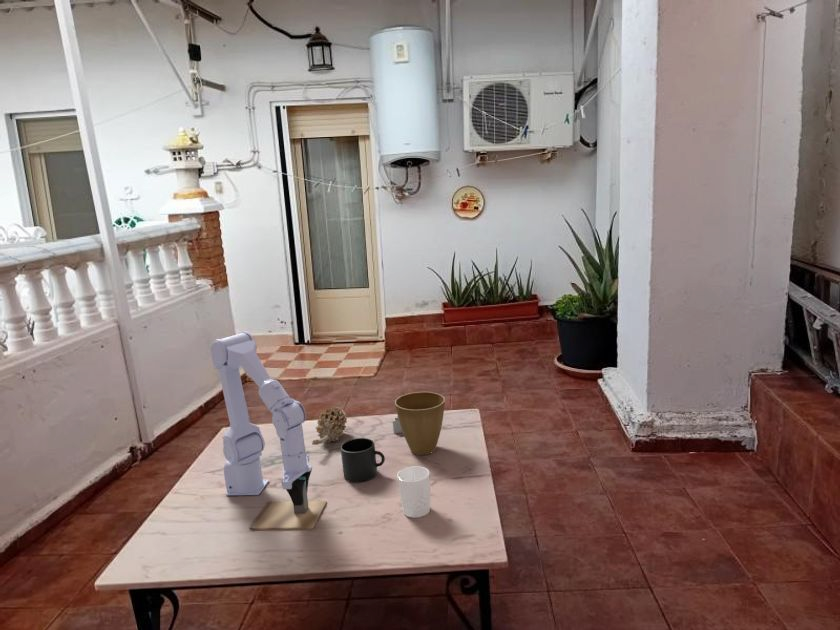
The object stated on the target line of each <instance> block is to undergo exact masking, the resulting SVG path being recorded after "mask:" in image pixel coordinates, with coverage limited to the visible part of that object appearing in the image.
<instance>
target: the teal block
mask: <svg viewBox="0 0 840 630" xmlns="http://www.w3.org/2000/svg"><path fill="white" fill-rule="evenodd" d="M299 480H306V477H299ZM308 500H309V499H308V490H307V489H306V481H305V483H304V488H303V504H302V505H294V504H293V506H294V513H297V514H305V513H306V511H307V509H308V508H309V507H308Z"/></svg>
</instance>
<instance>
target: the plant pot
mask: <svg viewBox="0 0 840 630" xmlns="http://www.w3.org/2000/svg"><path fill="white" fill-rule="evenodd" d="M445 402H446V398H445V396H443V395H442V394H439V393H437V392H431V391H416V392H410V393H406V394H404V395H400V396H398V397H397V398H396V399H395V400H394V406H395V409H396V410H395V411H396V415H397V416H398V419H399V422H400V425H401V428H402V431H403V433H402V434H403V436H404V439H405V441H406V444H407V446H408V448H409V450H410V452H411V453H413V454H414V455H417V454H418V456H425V455H424V454H427V455H430V454H432V453H434V452H435V451H434V450H436V448H437V445H438V442H439V439H440V435H441V430H442V425H443V421H444V413H445V405H446V403H445ZM433 451H434V452H433ZM431 452H432V453H431ZM429 453H430V454H429Z"/></svg>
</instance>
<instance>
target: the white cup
mask: <svg viewBox="0 0 840 630" xmlns="http://www.w3.org/2000/svg"><path fill="white" fill-rule="evenodd" d="M396 474H397V475H396V477H397V484H398V490H399V497H400V502H401V508H402V512H403V514H404V516H406V517H408V518H412V519H413V518H414V519H415V518H422V517H424V516H425V517H426V515H428V514H429V513H430V511H431V482H430V481H431V479H430V470H429V469H428V468H426V467H425V466H420V465H413V466H411V465H410V466H407V467H404V468H402V469H401V470H399V471H398V472H397V473H396Z"/></svg>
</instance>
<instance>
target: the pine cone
mask: <svg viewBox="0 0 840 630" xmlns="http://www.w3.org/2000/svg"><path fill="white" fill-rule="evenodd" d="M346 414H347V413H346V411H344V410H343V409H341V406H340V407H338V406H337V405H335V407H334V408H333V407H330V408H329V409H325V411H322V412H321V413H320V414H319V417H318V418H319V419H317V421H316V422H317V425H316V427H315V430H316V432H317V433H318V435H316V436H318V437H319V439H313V440H312V442H311V445H320V444H323V443H324V442H325V443H328V444H329V443H330V444H331V442H332V441H333V442H337V441H339V440H340V438H339V437H341V436H343V434H344V431H345V430H346V428H347V426H346V423H347V422H348V421H347V419H348V418H347V416H346Z"/></svg>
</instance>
